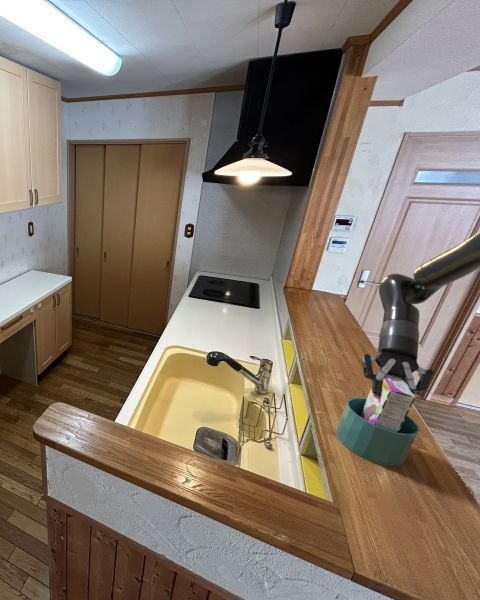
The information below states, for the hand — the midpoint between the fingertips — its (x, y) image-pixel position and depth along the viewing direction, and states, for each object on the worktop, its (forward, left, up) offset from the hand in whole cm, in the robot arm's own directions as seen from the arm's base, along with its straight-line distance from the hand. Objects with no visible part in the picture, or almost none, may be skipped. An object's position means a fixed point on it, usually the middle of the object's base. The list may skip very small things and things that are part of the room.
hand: (391, 399), depth 81 cm
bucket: (0, -2, -16) cm, 16 cm away
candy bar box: (0, -2, -12) cm, 12 cm away
